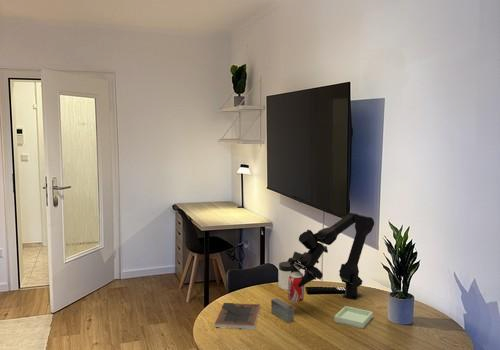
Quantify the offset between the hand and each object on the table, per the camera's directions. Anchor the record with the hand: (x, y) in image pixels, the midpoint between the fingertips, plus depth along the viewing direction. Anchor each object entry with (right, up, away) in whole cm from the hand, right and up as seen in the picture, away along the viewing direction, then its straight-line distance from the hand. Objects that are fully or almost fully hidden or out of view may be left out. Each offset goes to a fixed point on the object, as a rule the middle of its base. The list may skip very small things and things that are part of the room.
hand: (294, 284), depth 199 cm
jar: (0, -9, +33) cm, 34 cm away
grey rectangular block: (-5, -14, -1) cm, 15 cm away
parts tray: (+25, -14, -6) cm, 29 cm away
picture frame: (-24, -15, -1) cm, 28 cm away
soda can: (+1, -8, +3) cm, 8 cm away
